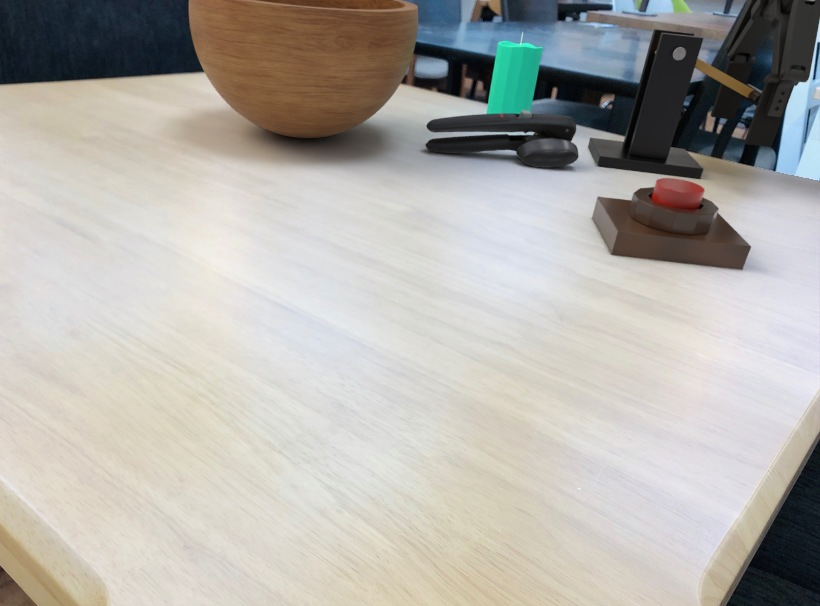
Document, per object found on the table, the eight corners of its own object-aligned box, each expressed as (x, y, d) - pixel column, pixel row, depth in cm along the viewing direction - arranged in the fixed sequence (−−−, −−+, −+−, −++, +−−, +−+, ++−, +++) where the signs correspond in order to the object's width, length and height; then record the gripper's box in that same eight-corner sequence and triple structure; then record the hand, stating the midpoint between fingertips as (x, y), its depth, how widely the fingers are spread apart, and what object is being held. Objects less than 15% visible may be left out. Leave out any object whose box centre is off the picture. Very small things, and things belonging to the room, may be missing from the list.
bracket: (682, 158, 91) (720, 34, 83) (700, 178, 83) (745, 44, 76) (587, 146, 92) (617, 23, 84) (597, 166, 84) (631, 31, 77)
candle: (531, 132, 96) (550, 37, 90) (487, 128, 96) (503, 32, 90) (523, 121, 101) (541, 31, 95) (482, 117, 101) (497, 26, 95)
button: (690, 199, 63) (696, 180, 62) (704, 215, 60) (711, 195, 59) (645, 194, 63) (651, 175, 63) (657, 209, 60) (663, 189, 59)
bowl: (421, 127, 93) (437, 1, 85) (376, 180, 72) (392, 19, 64) (244, 100, 97) (244, -22, 90) (152, 143, 76) (142, -12, 68)
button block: (707, 231, 67) (721, 191, 65) (742, 270, 59) (759, 226, 57) (591, 218, 68) (602, 177, 66) (611, 255, 60) (623, 210, 58)
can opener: (565, 156, 86) (576, 109, 84) (578, 173, 80) (590, 123, 78) (421, 142, 86) (427, 95, 83) (423, 158, 80) (430, 107, 77)
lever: (744, 102, 85) (757, 84, 84) (760, 113, 80) (775, 94, 79) (650, 50, 84) (663, 31, 83) (661, 58, 79) (675, 37, 78)
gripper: (736, -78, 84) (681, 105, 95) (821, -82, 63) (738, 154, 74) (800, -71, 84) (738, 111, 94) (910, -74, 62) (813, 163, 73)
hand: (738, 130), depth 84 cm, fingers open, 13 cm apart
